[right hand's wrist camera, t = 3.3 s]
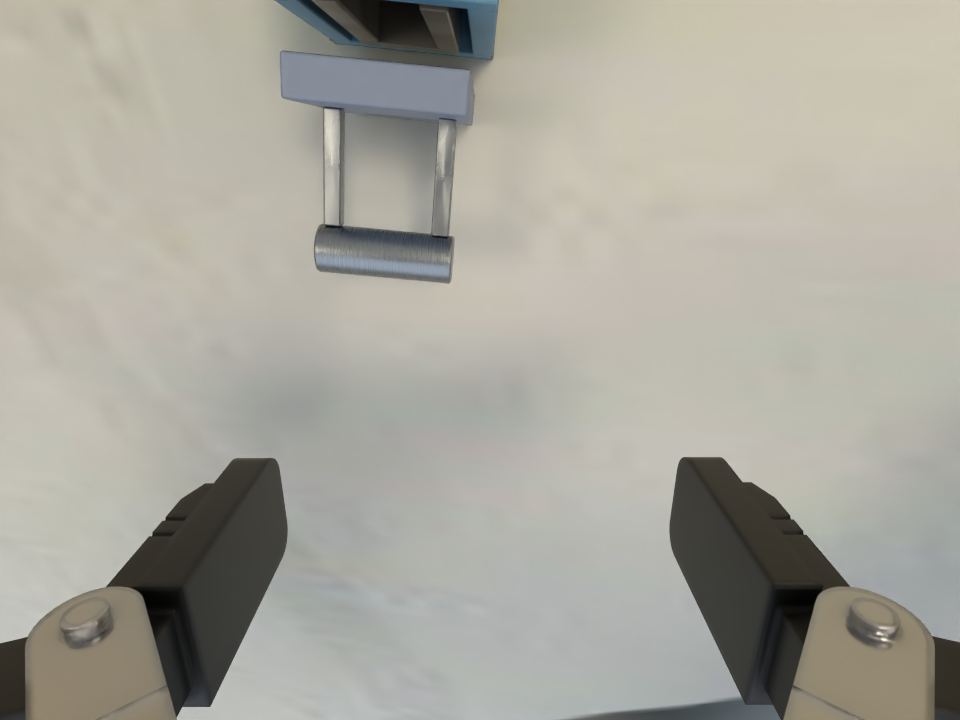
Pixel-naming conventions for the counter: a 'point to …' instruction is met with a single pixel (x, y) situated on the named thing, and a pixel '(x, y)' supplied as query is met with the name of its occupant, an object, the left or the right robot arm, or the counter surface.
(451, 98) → the drawer
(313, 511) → the counter surface
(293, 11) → the cabinet
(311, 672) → the counter surface
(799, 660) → the right robot arm
